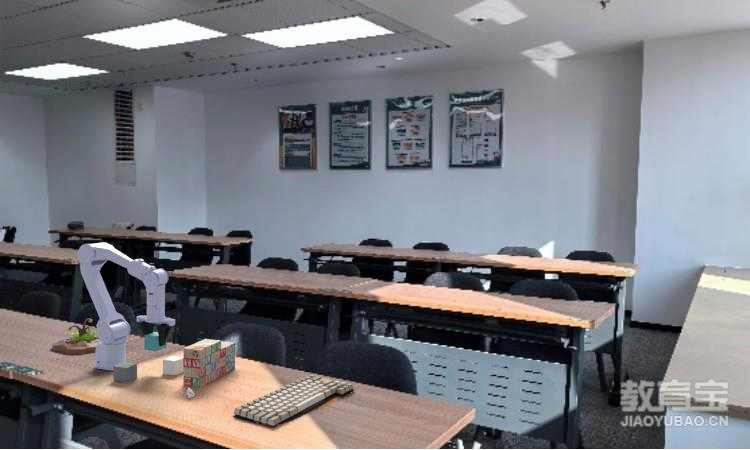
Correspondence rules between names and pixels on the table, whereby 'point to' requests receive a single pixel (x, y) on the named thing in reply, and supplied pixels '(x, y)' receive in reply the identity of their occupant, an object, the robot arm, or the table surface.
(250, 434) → the table surface
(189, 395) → the power adapter
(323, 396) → the mechanical keyboard
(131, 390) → the table surface
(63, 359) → the table surface
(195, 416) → the table surface
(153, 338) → the teal block
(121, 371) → the charcoal block
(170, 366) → the cream block
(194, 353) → the stack of blocks
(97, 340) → the plant
